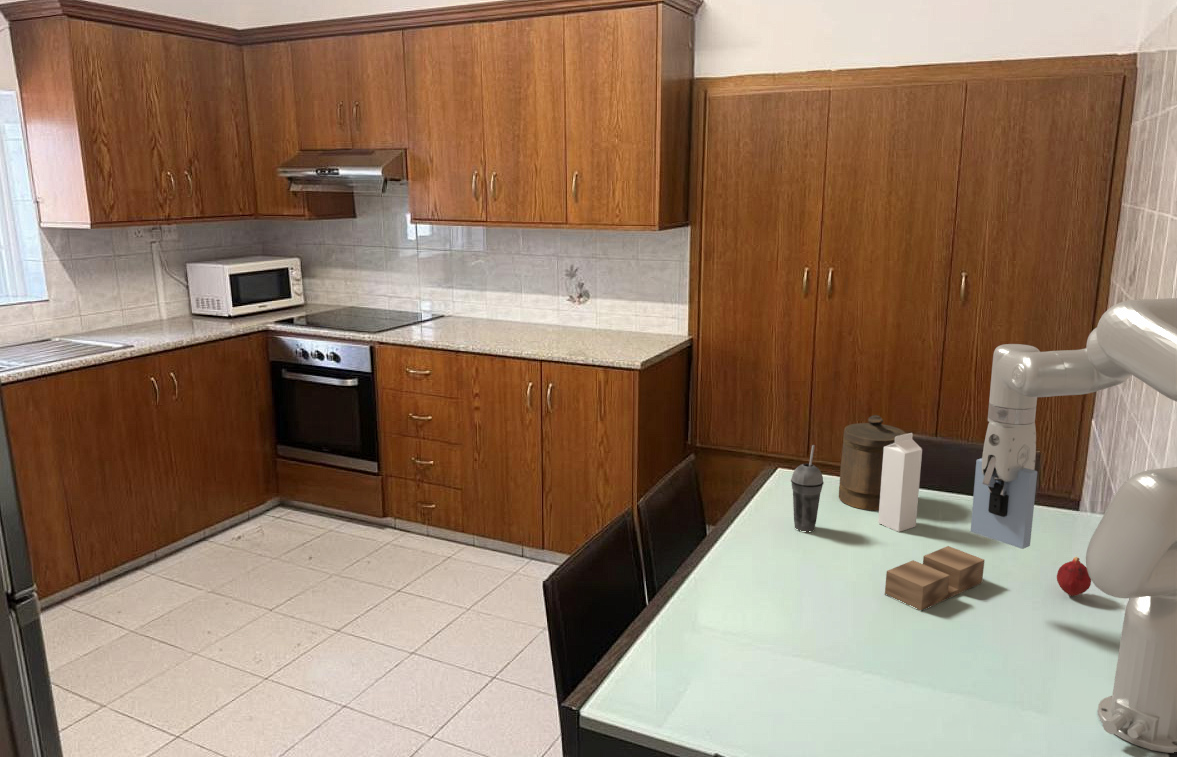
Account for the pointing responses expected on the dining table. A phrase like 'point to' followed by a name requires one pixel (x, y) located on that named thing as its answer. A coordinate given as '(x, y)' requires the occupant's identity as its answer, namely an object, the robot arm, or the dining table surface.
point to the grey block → (1019, 509)
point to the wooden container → (864, 462)
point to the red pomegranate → (1073, 577)
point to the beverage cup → (806, 495)
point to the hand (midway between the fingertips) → (1002, 511)
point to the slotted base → (934, 577)
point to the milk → (900, 483)
